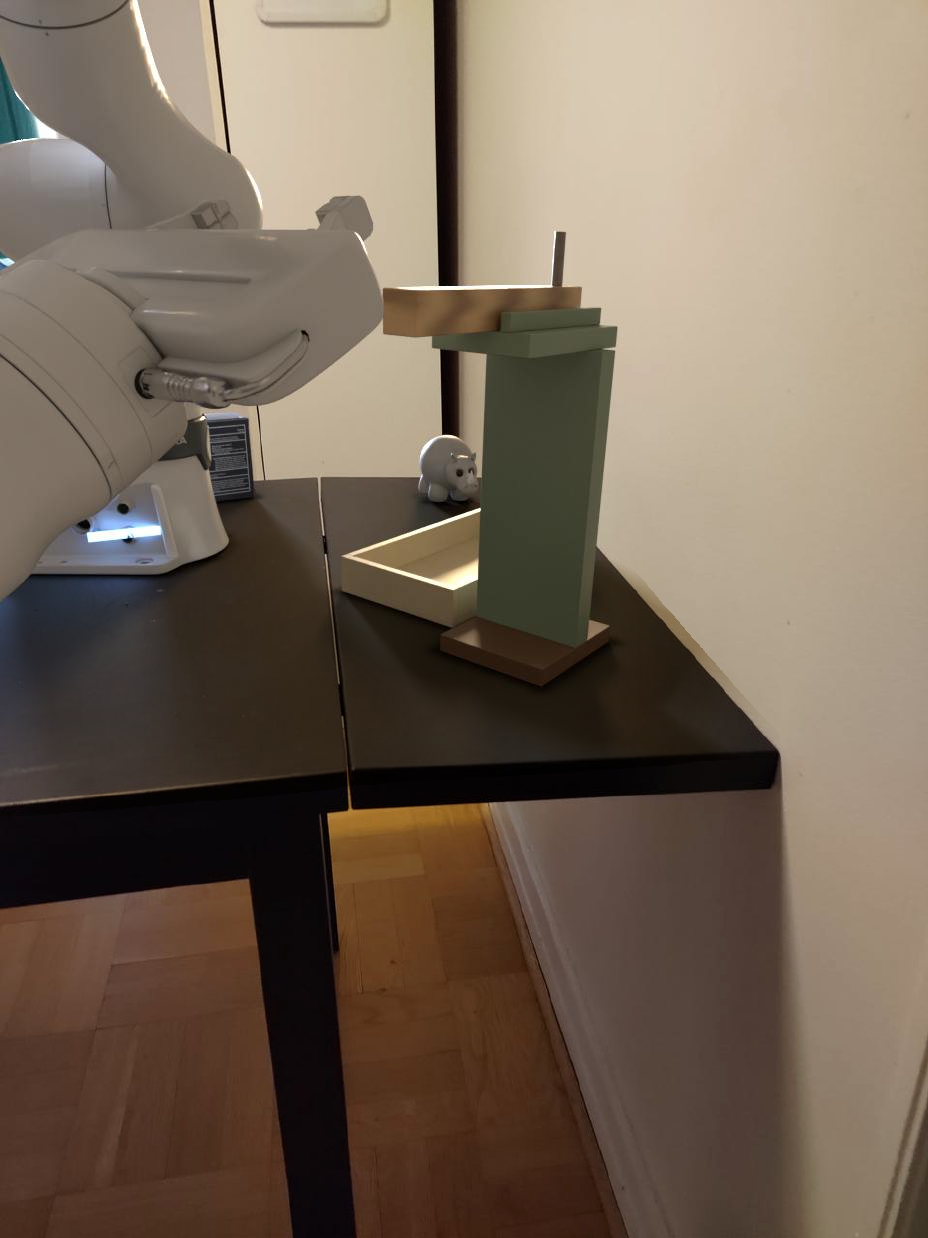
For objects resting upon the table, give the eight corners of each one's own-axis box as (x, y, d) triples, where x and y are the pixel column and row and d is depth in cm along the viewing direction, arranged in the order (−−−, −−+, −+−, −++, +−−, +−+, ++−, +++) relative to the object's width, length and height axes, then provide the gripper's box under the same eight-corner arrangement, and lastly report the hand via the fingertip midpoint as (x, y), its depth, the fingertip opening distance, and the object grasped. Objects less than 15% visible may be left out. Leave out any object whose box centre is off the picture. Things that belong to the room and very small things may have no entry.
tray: (452, 628, 75) (453, 590, 74) (341, 590, 83) (340, 556, 81) (583, 561, 93) (586, 530, 91) (483, 536, 100) (484, 506, 99)
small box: (240, 486, 117) (234, 409, 113) (257, 497, 112) (251, 417, 108) (162, 495, 112) (153, 415, 108) (176, 507, 107) (167, 423, 103)
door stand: (519, 701, 63) (544, 315, 53) (416, 662, 69) (420, 305, 58) (608, 641, 74) (644, 308, 63) (513, 612, 79) (531, 301, 68)
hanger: (415, 337, 49) (416, 219, 47) (382, 334, 51) (381, 219, 48) (579, 323, 63) (586, 232, 61) (549, 321, 65) (555, 232, 62)
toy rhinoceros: (442, 518, 107) (444, 450, 103) (411, 493, 117) (412, 431, 113) (495, 513, 109) (498, 447, 106) (460, 490, 119) (462, 429, 116)
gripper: (196, 328, 27) (433, 130, 33) (-88, 298, 38) (129, 154, 45) (280, 479, 32) (476, 280, 38) (4, 413, 43) (190, 267, 49)
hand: (286, 212), depth 41 cm, fingers open, 8 cm apart
